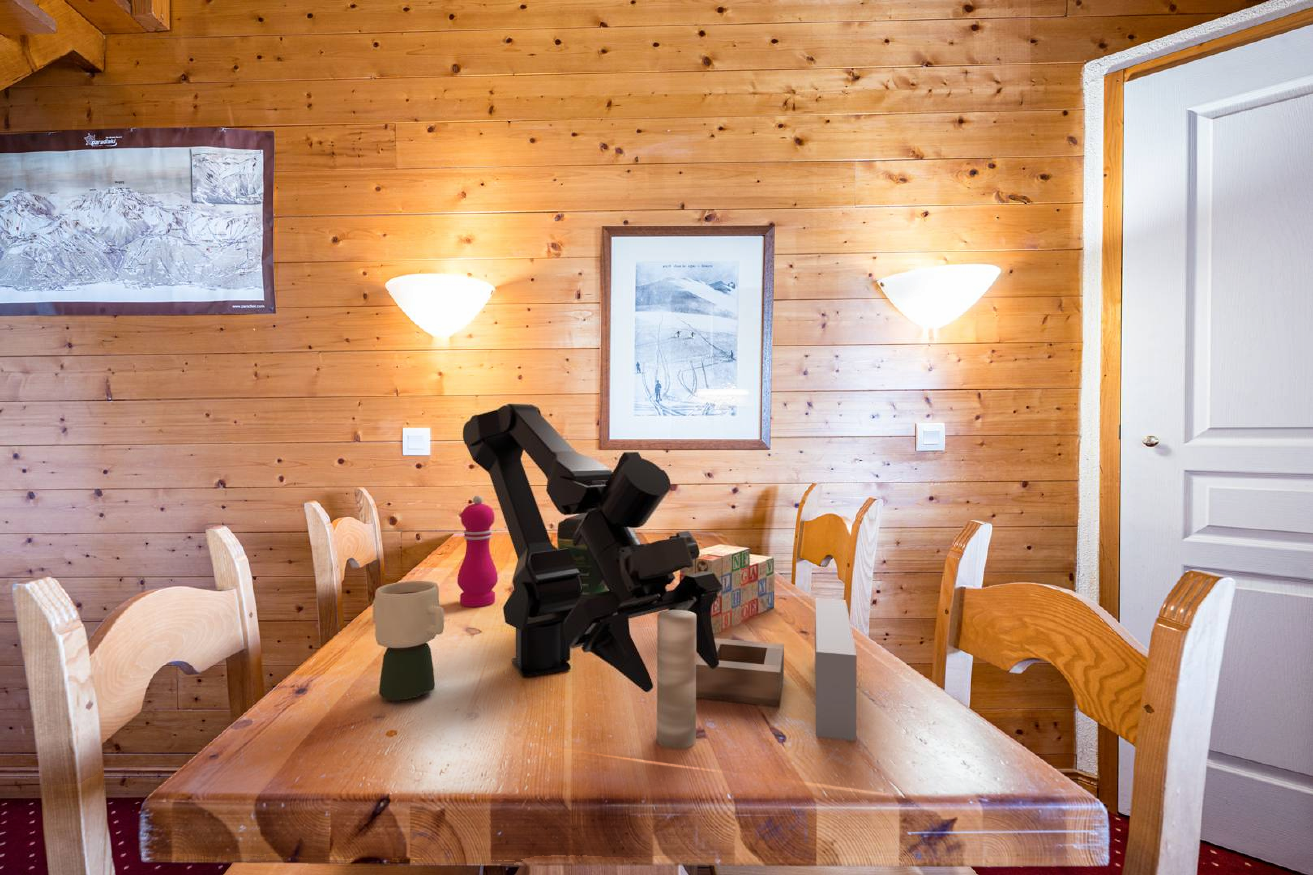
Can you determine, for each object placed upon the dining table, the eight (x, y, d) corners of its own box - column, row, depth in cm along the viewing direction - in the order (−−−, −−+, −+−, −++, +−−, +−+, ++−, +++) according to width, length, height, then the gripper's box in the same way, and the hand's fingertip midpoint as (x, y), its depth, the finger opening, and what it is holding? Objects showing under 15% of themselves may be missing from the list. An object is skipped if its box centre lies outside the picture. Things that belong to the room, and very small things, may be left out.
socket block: (694, 697, 74) (694, 664, 74) (707, 667, 84) (708, 637, 84) (779, 706, 72) (780, 672, 72) (783, 674, 82) (783, 644, 82)
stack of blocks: (744, 601, 118) (745, 536, 118) (774, 607, 114) (775, 540, 114) (678, 629, 101) (679, 553, 101) (711, 637, 98) (711, 558, 97)
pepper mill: (482, 595, 121) (482, 492, 121) (505, 602, 117) (506, 495, 117) (449, 603, 116) (449, 495, 116) (472, 610, 111) (472, 498, 111)
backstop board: (815, 737, 65) (816, 651, 65) (815, 662, 87) (815, 597, 87) (856, 742, 64) (856, 655, 64) (845, 665, 86) (845, 599, 86)
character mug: (463, 691, 76) (463, 585, 76) (419, 715, 70) (420, 599, 70) (396, 676, 81) (396, 576, 81) (349, 698, 74) (350, 589, 74)
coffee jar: (598, 638, 97) (598, 518, 96) (549, 634, 98) (550, 516, 98) (614, 619, 106) (615, 510, 106) (570, 616, 108) (570, 509, 107)
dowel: (667, 754, 62) (668, 623, 62) (650, 736, 65) (650, 612, 65) (702, 745, 63) (703, 617, 63) (683, 728, 67) (684, 608, 67)
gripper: (578, 515, 61) (651, 658, 53) (711, 502, 74) (787, 616, 65) (537, 581, 67) (596, 719, 59) (666, 559, 79) (730, 670, 71)
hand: (684, 677), depth 63 cm, fingers open, 9 cm apart
